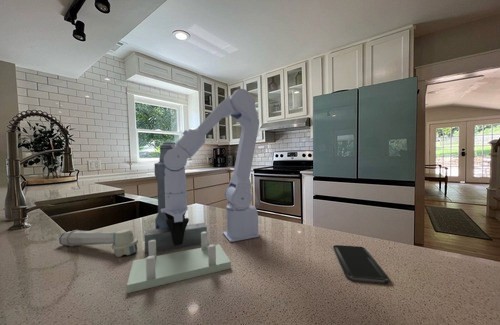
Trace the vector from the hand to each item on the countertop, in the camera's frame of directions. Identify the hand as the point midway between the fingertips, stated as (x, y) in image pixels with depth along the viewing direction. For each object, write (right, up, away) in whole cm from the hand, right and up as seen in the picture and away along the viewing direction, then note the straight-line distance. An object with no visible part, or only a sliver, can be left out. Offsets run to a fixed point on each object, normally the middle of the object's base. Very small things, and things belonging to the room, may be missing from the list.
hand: (177, 240), depth 59 cm
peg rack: (+5, -2, -12) cm, 13 cm away
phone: (+45, -2, -11) cm, 46 cm away
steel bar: (0, -2, 0) cm, 2 cm away
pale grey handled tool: (-21, -2, -1) cm, 21 cm away
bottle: (-7, -1, +14) cm, 16 cm away
